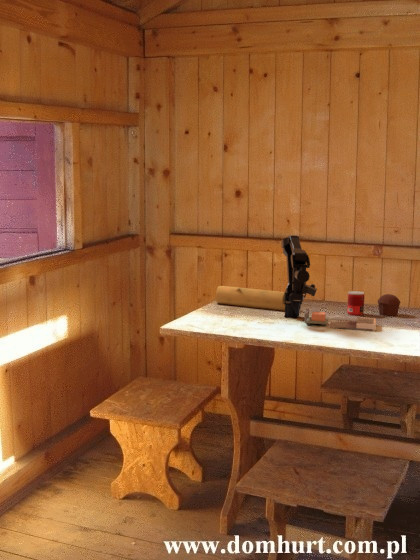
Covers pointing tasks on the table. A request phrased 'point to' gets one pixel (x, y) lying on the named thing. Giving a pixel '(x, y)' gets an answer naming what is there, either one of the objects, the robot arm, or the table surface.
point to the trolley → (316, 318)
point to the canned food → (355, 303)
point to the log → (250, 298)
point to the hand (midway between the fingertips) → (297, 312)
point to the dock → (356, 324)
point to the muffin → (388, 305)
